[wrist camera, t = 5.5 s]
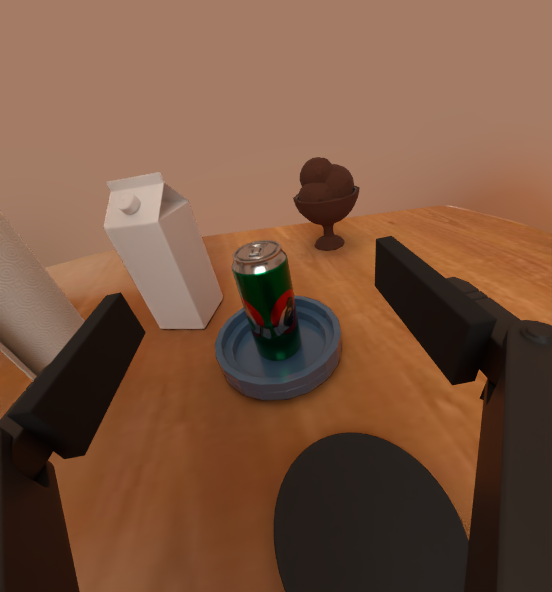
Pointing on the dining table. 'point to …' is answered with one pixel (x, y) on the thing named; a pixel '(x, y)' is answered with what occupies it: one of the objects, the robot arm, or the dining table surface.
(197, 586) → the dining table surface
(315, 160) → the ice cream bowl
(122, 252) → the milk carton
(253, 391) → the dish
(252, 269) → the soda can
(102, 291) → the dining table surface
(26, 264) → the paper towel roll
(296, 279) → the dining table surface
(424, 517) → the coaster
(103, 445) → the dining table surface
